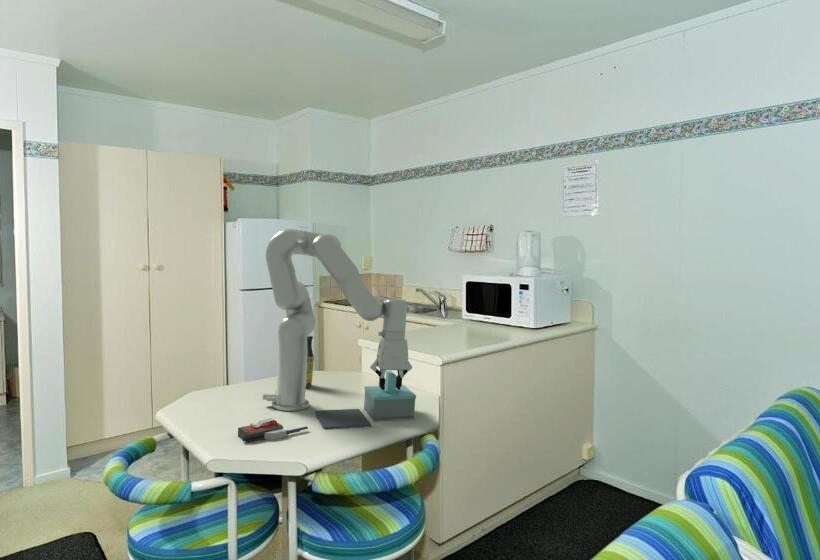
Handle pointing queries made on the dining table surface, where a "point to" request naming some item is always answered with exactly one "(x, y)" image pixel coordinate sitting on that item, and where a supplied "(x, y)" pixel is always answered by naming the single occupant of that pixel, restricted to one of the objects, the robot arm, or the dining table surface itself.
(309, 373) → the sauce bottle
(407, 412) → the tub
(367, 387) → the lid
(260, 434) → the walkie-talkie
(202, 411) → the dining table surface
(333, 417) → the mat
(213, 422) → the dining table surface
